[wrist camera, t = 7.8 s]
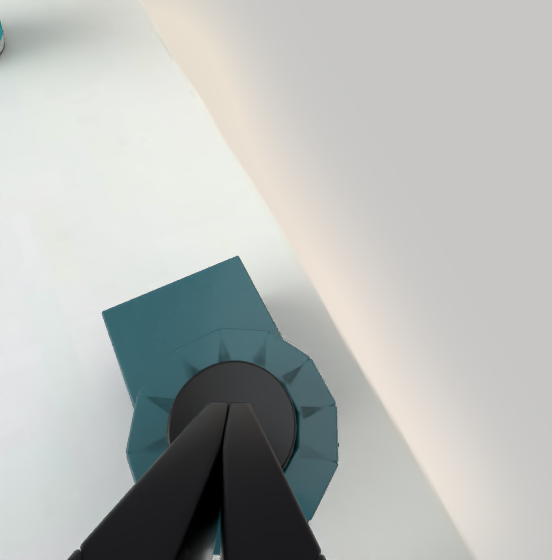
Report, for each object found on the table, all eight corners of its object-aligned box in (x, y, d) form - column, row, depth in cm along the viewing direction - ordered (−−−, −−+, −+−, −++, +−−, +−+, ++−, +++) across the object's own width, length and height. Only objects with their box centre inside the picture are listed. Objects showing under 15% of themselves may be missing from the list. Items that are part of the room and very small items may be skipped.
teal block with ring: (328, 464, 16) (378, 477, 10) (207, 538, 15) (174, 610, 8) (243, 299, 19) (240, 228, 13) (137, 347, 18) (74, 294, 11)
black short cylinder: (305, 452, 10) (320, 455, 8) (209, 509, 10) (195, 530, 7) (259, 360, 11) (261, 339, 9) (169, 405, 11) (146, 395, 8)
